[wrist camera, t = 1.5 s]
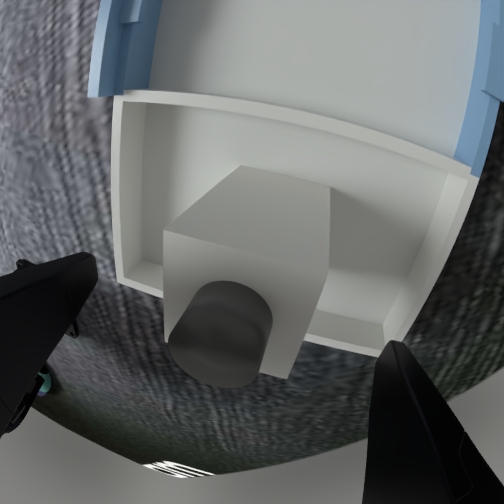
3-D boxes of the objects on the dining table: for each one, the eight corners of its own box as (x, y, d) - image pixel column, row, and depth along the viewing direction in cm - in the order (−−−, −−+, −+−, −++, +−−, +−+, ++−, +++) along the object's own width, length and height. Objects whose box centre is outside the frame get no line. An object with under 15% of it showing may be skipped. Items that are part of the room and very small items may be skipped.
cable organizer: (385, 328, 16) (391, 375, 13) (130, 258, 18) (97, 289, 15) (486, -15, 6) (520, -34, 3) (167, -70, 8) (131, -94, 5)
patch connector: (307, 264, 15) (277, 422, 7) (228, 243, 15) (142, 377, 8) (330, 186, 13) (325, 319, 5) (240, 165, 13) (127, 262, 6)
